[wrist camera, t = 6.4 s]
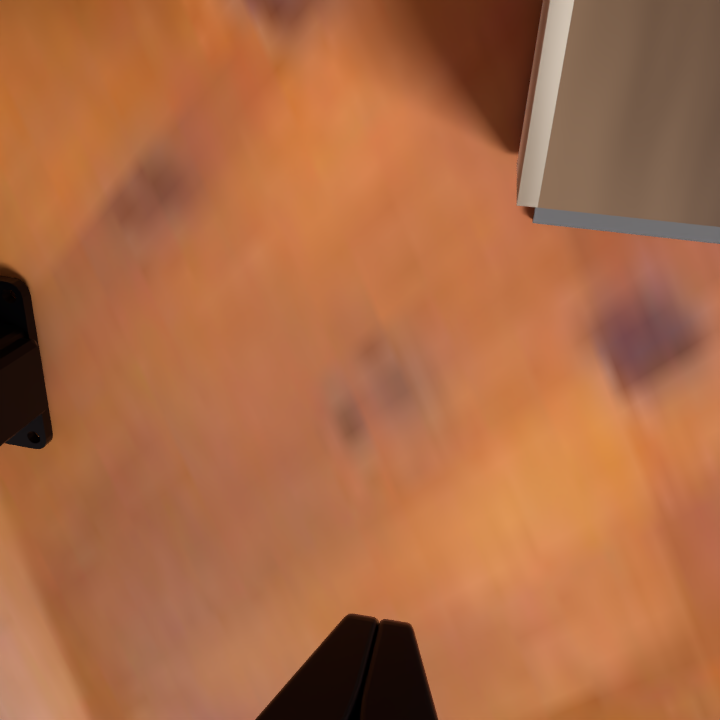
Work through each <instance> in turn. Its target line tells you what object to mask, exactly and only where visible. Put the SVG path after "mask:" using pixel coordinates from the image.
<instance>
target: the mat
mask: <svg viewBox="0 0 720 720" xmlns="http://www.w3.org/2000/svg"><path fill="white" fill-rule="evenodd" d="M533 223H538V224H547V225H556V226H565V227H574V228H583V229H592V230H601V231H610V232H618V233H627V234H636V235H645V236H654V237H663V238H672V239H681V240H690V241H699V242H708V243H717V244H720V227H714V226H704V225H695V224H686V223H677V222H667V221H658V220H649V219H639V218H630V217H621V216H611V215H602V214H593V213H583V212H574V211H565V210H556V209H546V208H537V207H535V210H534V216H533Z"/></svg>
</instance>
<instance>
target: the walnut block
mask: <svg viewBox="0 0 720 720" xmlns="http://www.w3.org/2000/svg"><path fill="white" fill-rule="evenodd" d="M517 205H518V206H528V207H537V208H546V209H556V210H565V211H574V212H583V213H593V214H602V215H611V216H621V217H630V218H639V219H649V220H658V221H667V222H677V223H686V224H695V225H704V226H714V227H720V0H543V3H542V9H541V15H540V22H539V28H538V34H537V41H536V47H535V53H534V59H533V66H532V72H531V78H530V85H529V91H528V97H527V103H526V110H525V116H524V122H523V128H522V135H521V141H520V147H519V154H518V160H517Z"/></svg>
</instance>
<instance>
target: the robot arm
mask: <svg viewBox="0 0 720 720" xmlns="http://www.w3.org/2000/svg"><path fill="white" fill-rule="evenodd" d="M10 290H12V291H13V292H14V293H15V296H16V298H14V297H13V296H12V295H11V293H10ZM35 433H37V434H38V435H39V437H38V436H37V435H36V434H35ZM52 438H53V433H52V426H51V420H50V414H49V408H48V401H47V394H46V388H45V382H44V376H43V369H42V363H41V357H40V351H39V345H38V339H37V333H36V326H35V320H34V314H33V308H32V301H31V295H30V292H29V289H28V287H27V286H26V284H25V283H23V282H22V281H21V280H19V279H16V278H11V277H4V276H0V446H1V445H3V444H4V443H6V444H12V445H17V446H22V447H28V448H33V449H41V448H43V447H45V446H46V445H47V444H48V443H49V442H50V441H51V440H52ZM255 720H438V717H437V713H436V710H435V706H434V702H433V699H432V695H431V691H430V688H429V684H428V680H427V677H426V673H425V670H424V666H423V662H422V659H421V655H420V651H419V648H418V644H417V640H416V637H415V633H414V630H413V627H412V626H411V624H409V623H406V622H400V621H394V620H388V619H383V620H381V621H380V623H379V621H378V620H377V619H376V618H375V617H370V616H364V615H358V614H348V615H347V616H345V617H344V618H343V619H342V621H341V622H340V623H339V624H338V625H337V626H336V627H335V629H334V630H333V631H332V632H331V633H330V634H329V635H328V637H327V638H326V639H325V640H324V641H323V642H322V643H321V645H320V646H319V647H318V648H317V649H316V650H315V652H314V653H313V654H312V655H311V656H310V657H309V658H308V660H307V661H306V662H305V663H304V664H303V665H302V666H301V668H300V669H299V670H298V671H297V672H296V673H295V675H294V676H293V677H292V678H291V679H290V680H289V681H288V683H287V684H286V685H285V686H284V687H283V688H282V689H281V691H280V692H279V693H278V694H277V695H276V696H275V697H274V699H273V700H272V701H271V702H270V703H269V704H268V706H267V707H266V708H265V709H264V710H263V711H262V712H261V714H260V715H259V716H258V717H257V718H256V719H255Z"/></svg>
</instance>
